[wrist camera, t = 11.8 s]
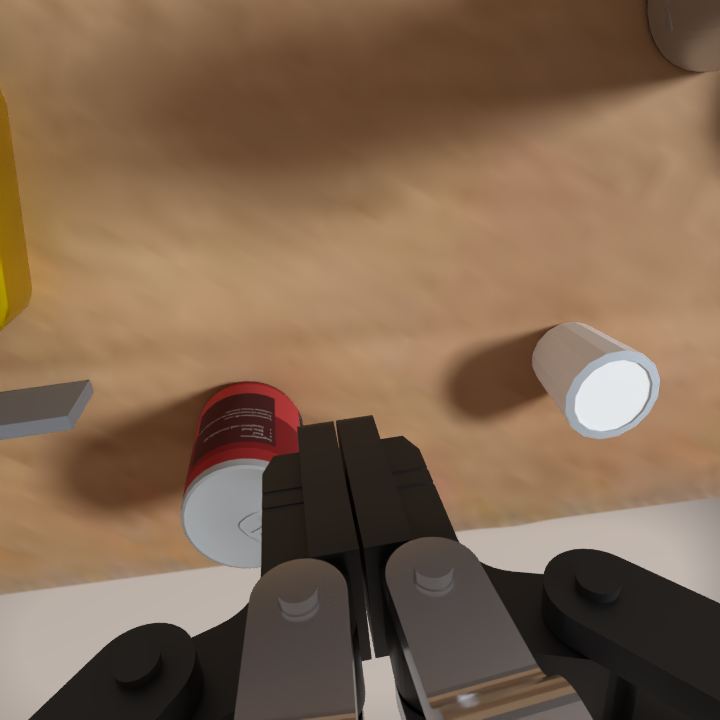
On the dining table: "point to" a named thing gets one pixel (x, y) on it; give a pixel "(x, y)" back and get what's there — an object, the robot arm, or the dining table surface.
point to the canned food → (235, 470)
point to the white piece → (595, 379)
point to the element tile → (11, 232)
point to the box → (42, 409)
